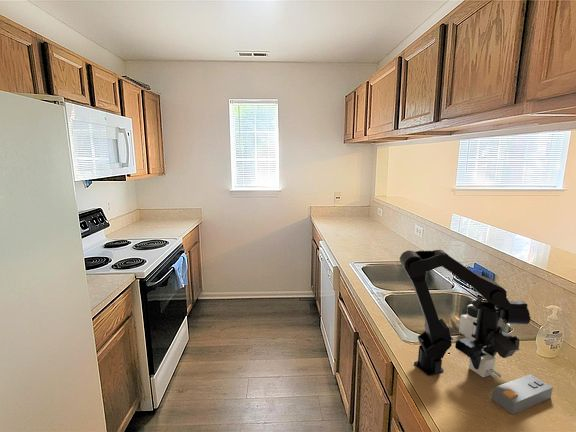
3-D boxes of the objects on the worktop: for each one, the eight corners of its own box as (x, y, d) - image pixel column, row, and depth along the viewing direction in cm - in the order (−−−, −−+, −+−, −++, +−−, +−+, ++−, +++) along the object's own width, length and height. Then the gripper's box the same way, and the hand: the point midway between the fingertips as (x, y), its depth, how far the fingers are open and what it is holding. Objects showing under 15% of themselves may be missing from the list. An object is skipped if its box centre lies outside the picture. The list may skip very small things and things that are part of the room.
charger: (468, 367, 105) (470, 351, 104) (478, 364, 107) (481, 347, 106) (492, 383, 98) (494, 366, 97) (502, 380, 100) (505, 362, 99)
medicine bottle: (488, 340, 121) (493, 310, 119) (471, 342, 120) (475, 311, 118) (475, 330, 128) (478, 301, 126) (458, 331, 127) (462, 302, 125)
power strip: (491, 398, 92) (493, 386, 92) (528, 384, 98) (530, 372, 98) (512, 414, 87) (514, 401, 86) (550, 398, 93) (553, 385, 92)
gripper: (491, 341, 90) (484, 391, 93) (535, 328, 97) (527, 375, 100) (456, 322, 100) (451, 368, 103) (499, 311, 107) (492, 354, 110)
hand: (481, 366), depth 104 cm, fingers closed on charger, 4 cm apart
